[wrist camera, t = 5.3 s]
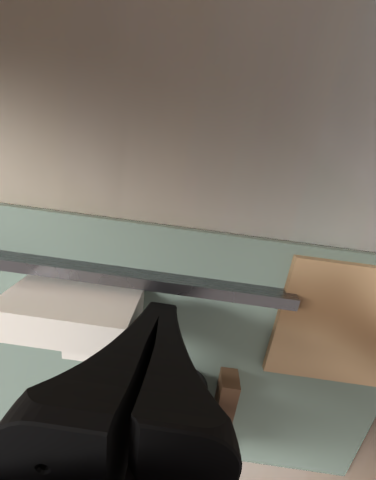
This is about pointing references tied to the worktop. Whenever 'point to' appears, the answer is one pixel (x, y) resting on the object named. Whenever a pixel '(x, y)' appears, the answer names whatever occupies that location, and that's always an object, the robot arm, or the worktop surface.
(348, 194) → the worktop surface
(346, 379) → the plate
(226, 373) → the cradle
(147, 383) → the robot arm
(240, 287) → the rail
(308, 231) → the worktop surface
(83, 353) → the white t-shaped block
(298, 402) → the mat
